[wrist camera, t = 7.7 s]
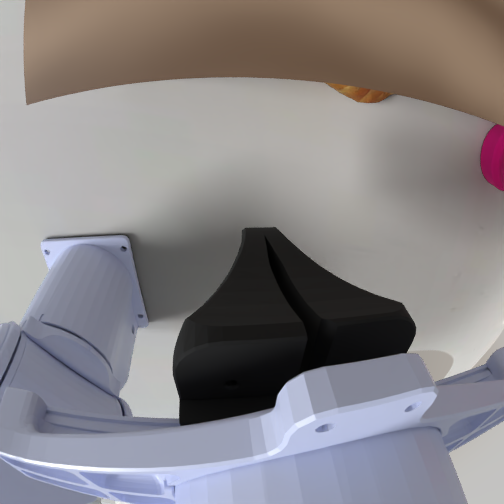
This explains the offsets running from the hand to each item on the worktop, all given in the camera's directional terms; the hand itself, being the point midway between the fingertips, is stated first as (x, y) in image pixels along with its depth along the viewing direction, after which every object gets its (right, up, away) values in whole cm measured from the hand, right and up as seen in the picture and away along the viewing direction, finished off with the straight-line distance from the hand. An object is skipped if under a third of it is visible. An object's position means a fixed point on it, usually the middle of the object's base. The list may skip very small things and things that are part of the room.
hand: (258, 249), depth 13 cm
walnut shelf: (+2, +16, +1) cm, 16 cm away
